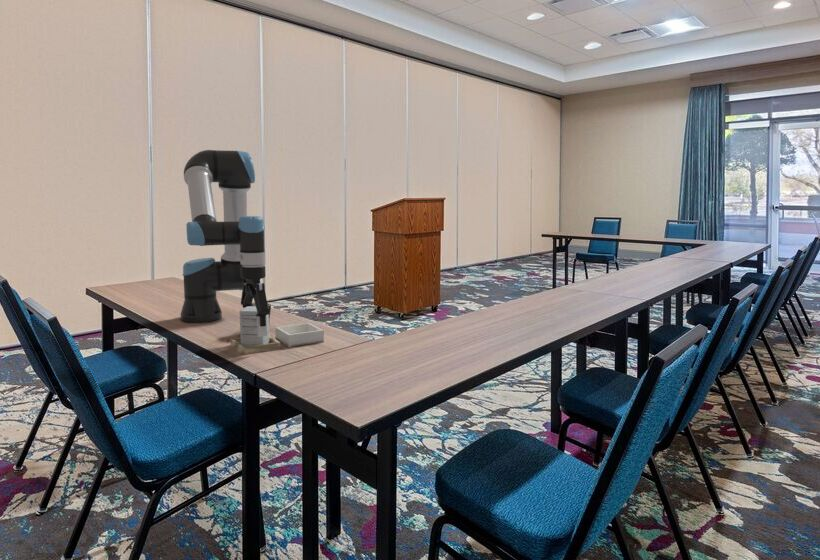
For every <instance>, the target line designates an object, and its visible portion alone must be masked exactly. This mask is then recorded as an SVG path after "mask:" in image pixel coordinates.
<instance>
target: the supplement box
mask: <svg viewBox="0 0 820 560" xmlns="http://www.w3.org/2000/svg"><path fill="white" fill-rule="evenodd" d="M256 314H258V313H257V309H256V306H247V307H245V308H244V309H243V308H242V309H241V310H239V327H240V328H239V330H240V331H239V333H240V338H241V345H242V346H243V347H248V346H255V345H262V344H269V343H270V338H269V335H270V323H269V314H268V315H266V321H267V336H262V337H258V334H257V317H256Z"/></svg>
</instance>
